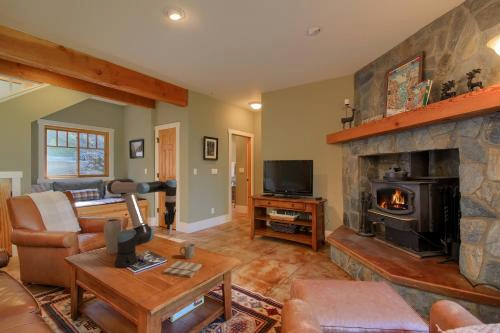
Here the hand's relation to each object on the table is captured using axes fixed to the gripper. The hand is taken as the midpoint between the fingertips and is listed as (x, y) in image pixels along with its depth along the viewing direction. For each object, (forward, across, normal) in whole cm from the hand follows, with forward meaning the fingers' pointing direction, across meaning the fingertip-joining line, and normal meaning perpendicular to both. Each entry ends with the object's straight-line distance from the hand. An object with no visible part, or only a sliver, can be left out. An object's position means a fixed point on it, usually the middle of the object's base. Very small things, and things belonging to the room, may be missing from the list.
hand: (169, 233), depth 170 cm
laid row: (+22, -6, -16) cm, 28 cm away
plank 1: (+21, -3, -11) cm, 24 cm away
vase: (+25, +7, +55) cm, 61 cm away
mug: (+23, +14, -7) cm, 28 cm away
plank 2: (+21, -3, -21) cm, 30 cm away
